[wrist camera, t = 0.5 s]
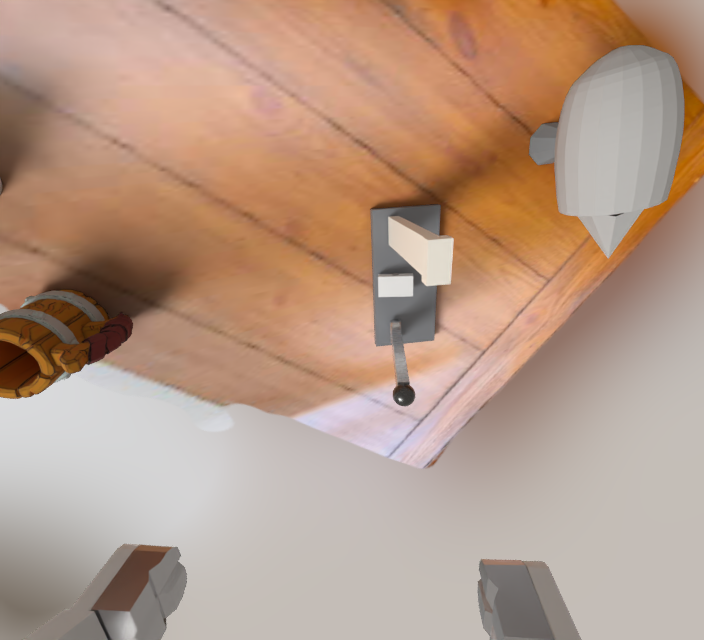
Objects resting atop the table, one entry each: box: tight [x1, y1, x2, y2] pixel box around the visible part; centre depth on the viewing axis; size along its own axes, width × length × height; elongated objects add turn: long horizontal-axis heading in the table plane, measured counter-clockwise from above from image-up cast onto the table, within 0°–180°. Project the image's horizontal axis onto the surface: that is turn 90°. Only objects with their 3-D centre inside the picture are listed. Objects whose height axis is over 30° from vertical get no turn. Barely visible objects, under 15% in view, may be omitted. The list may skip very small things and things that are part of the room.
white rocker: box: [378, 273, 413, 297], centre depth 51 cm, size 5×3×1 cm, turn 93°
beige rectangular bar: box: [388, 216, 454, 286], centre depth 40 cm, size 2×4×19 cm, turn 3°
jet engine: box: [529, 45, 684, 258], centre depth 42 cm, size 15×20×18 cm
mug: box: [0, 289, 133, 399], centre depth 44 cm, size 11×16×15 cm, turn 92°
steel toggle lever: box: [390, 319, 415, 406], centre depth 47 cm, size 3×4×19 cm
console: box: [371, 204, 441, 346], centre depth 54 cm, size 10×22×2 cm, turn 3°
